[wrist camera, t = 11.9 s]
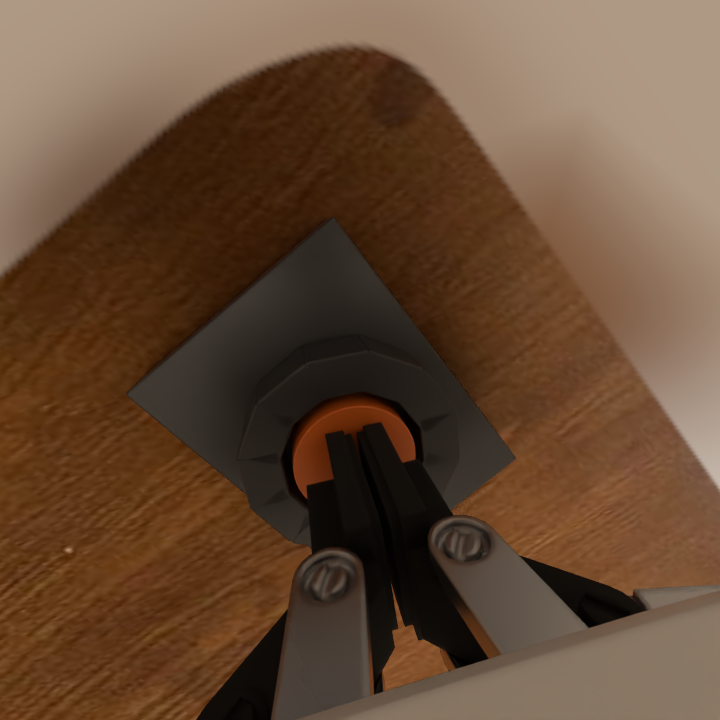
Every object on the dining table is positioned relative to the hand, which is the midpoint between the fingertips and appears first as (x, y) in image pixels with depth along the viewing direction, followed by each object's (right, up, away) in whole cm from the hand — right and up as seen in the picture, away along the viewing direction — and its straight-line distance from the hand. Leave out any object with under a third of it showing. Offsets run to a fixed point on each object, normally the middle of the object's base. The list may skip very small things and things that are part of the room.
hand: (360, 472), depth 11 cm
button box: (-1, +1, +3) cm, 4 cm away
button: (0, +1, +2) cm, 2 cm away
